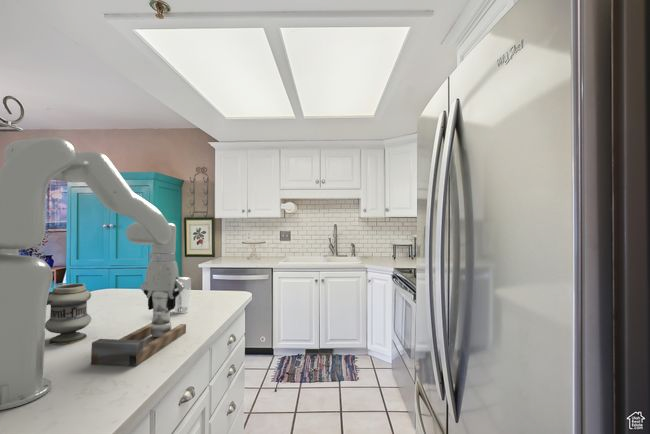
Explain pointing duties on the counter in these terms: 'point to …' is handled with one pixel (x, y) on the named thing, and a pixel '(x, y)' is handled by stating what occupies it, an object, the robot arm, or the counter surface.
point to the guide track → (131, 347)
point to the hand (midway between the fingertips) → (161, 308)
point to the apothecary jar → (68, 313)
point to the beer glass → (183, 296)
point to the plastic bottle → (160, 314)
